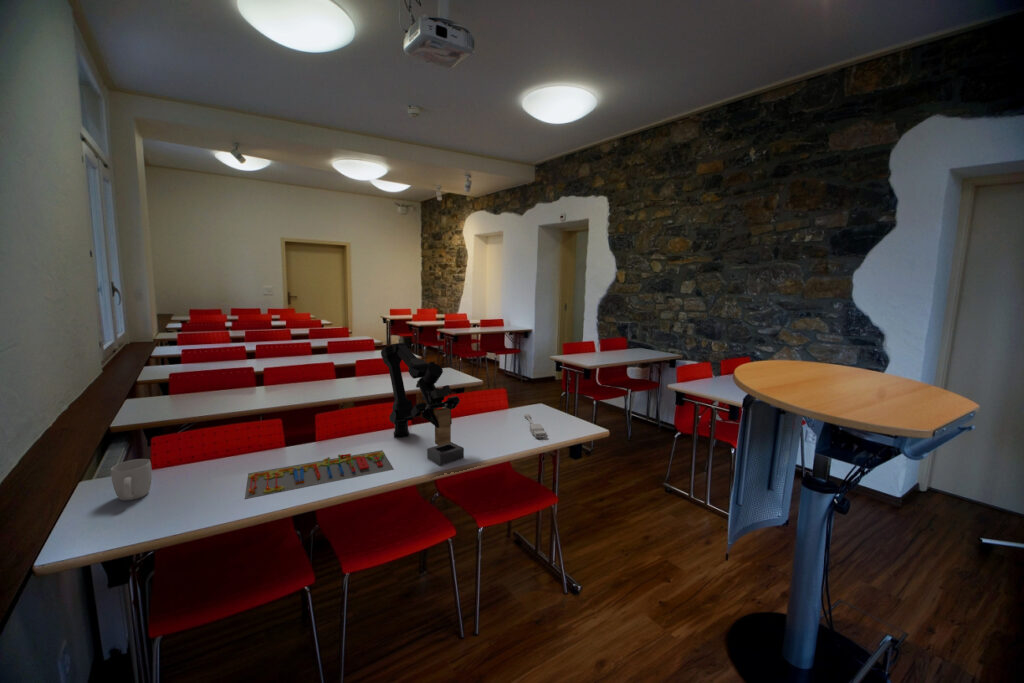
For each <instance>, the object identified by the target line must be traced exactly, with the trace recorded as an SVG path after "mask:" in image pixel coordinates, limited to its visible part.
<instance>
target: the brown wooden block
mask: <svg viewBox="0 0 1024 683" xmlns="http://www.w3.org/2000/svg"><path fill="white" fill-rule="evenodd" d="M434 415H435V417H436V419H437V421H438V424H439V428H437V427H436V426H434V444H435V445H436V446H441V445H444V444H448V443H451V442H452V439H451V438H452V434H451V433H452V429H451V427H452V424H451V420H452V409H449V408H442V407H441V408H437V409H434Z"/></svg>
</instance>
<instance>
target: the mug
mask: <svg viewBox="0 0 1024 683" xmlns="http://www.w3.org/2000/svg"><path fill="white" fill-rule="evenodd" d="M152 469H153V468H152V463H151V460H150V459H149V458H148V459H147V458H137V459H130V460H126V461H122V462H119V463H117V464H115V465H114V466H112V467H111V469H110V475H111V483H112V487H113V489H114V492H115V495H116V497H117V498H118V499H119V500H120V501H125V502H126V501H127V502H128V501H133V500H137V499H141V498H143V497H145V496H146V495H148V494H149V491H150V490H151V486H152V479H153V477H152V475H153V473H152V472H153V471H152Z"/></svg>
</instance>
